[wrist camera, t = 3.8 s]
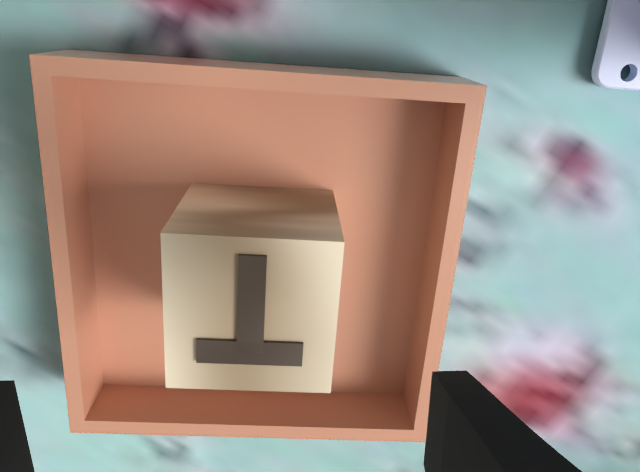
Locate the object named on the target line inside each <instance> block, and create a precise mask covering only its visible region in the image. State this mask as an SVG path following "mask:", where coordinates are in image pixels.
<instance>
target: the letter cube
mask: <svg viewBox="0 0 640 472" xmlns="http://www.w3.org/2000/svg"><path fill="white" fill-rule="evenodd" d="M160 235H161V265H162V295H163V325H164V355H165V385H166V388H184V389H215V390H246V391H277V392H307V393H331V385H332V374H333V363H334V352H335V341H336V331H337V320H338V309H339V298H340V287H341V276H342V265H343V255H344V244H345V242H344V237H343V233H342V228H341V224H340V219H339V215H338V210H337V206H336V201H335V197H334V192H333V191H331V190H313V189H295V188H277V187H259V186H241V185H223V184H205V183H192V184H191V185H190V187H189V188H188V190H187V192H186V193H185V195H184V196H183V198H182V199H181V201H180V203H179V204H178V206H177V207H176V209H175V211H174V212H173V214H172V215H171V217H170V219H169V220H168V222H167V223H166V225H165V226H164V228H163V230H162V231H161V233H160Z"/></svg>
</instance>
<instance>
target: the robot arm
mask: <svg viewBox="0 0 640 472" xmlns="http://www.w3.org/2000/svg"><path fill="white" fill-rule="evenodd" d="M627 64H628V65H629V67H630V74H629V76H628V77H627V78H626V79H624V80H622V79H621V77H620V72H621V70H622V68H623V67H624V66H626V65H627ZM591 77H592V79H593V82H594V83H595V84H596V85H597V86H600V87H604V88H610V89H624V90H638V91H640V0H608V2H607V6H606V10H605V15H604V19H603V23H602V28H601V32H600V36H599V40H598V45H597V49H596V53H595V58H594V62H593V66H592V73H591ZM424 467H425V472H582V471H581V470H579V469H578V468H577V467H575V466H574V465H573V464H572V463H570V462H569V461H568V460H567V459H566V458H564V457H563V456H562V455H561V454H560V453H558V452H557V451H556V450H555V449H554V448H552V447H551V446H550V445H549V444H548V443H546V442H545V441H544V440H543V439H542V438H541V437H539V436H538V435H537V434H536V433H535V432H534V431H533V430H531V429H530V428H529V427H528V426H527V425H526V424H525V423H524V422H522V421H521V420H520V419H519V418H518V417H517V416H516V415H515V414H513V413H512V412H511V411H510V410H509V409H508V408H507V407H506V406H505V405H504V404H503V403H501V402H500V401H499V400H498V399H497V398H496V397H495V396H494V395H493V394H492V393H491V392H489V391H488V390H487V389H486V388H485V387H484V386H483V385H482V384H481V383H480V382H479V381H477V380H476V379H475V378H474V377H473V376H472V375H471V374H470V373H468V372H467V371H434V372H432V379H431V390H430V401H429V412H428V423H427V434H426V445H425V456H424ZM0 472H34V467H33V463H32V459H31V454H30V450H29V445H28V441H27V436H26V432H25V427H24V423H23V419H22V414H21V410H20V405H19V401H18V396H17V392H16V387H15V383H14V381H0Z"/></svg>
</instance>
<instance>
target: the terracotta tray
mask: <svg viewBox="0 0 640 472" xmlns="http://www.w3.org/2000/svg"><path fill="white" fill-rule="evenodd" d="M29 58H30V68H31V77H32V86H33V95H34V104H35V113H36V123H37V132H38V141H39V150H40V159H41V168H42V177H43V187H44V196H45V205H46V214H47V223H48V232H49V242H50V251H51V260H52V269H53V278H54V287H55V297H56V306H57V315H58V324H59V333H60V342H61V351H62V361H63V370H64V379H65V388H66V397H67V406H68V416H69V425H70V433H106V434H143V435H180V436H217V437H253V438H290V439H327V440H364V441H401V442H426V434H427V423H428V412H429V401H430V390H431V379H432V372H434V371H438V369H439V363H440V358H441V352H442V346H443V340H444V334H445V328H446V322H447V317H448V311H449V305H450V299H451V293H452V287H453V281H454V276H455V270H456V264H457V258H458V252H459V246H460V241H461V235H462V229H463V223H464V217H465V211H466V205H467V200H468V194H469V188H470V182H471V176H472V170H473V165H474V159H475V153H476V147H477V141H478V135H479V129H480V124H481V118H482V112H483V106H484V100H485V94H486V88H487V86H486V85H483V84H480V83H477V82H474V81H471V80H468V79H466V78H463V77H457V76H443V75H428V74H414V73H400V72H385V71H371V70H357V69H342V68H328V67H314V66H299V65H285V64H271V63H256V62H242V61H228V60H213V59H199V58H185V57H170V56H156V55H142V54H127V53H113V52H99V51H84V50H70V49H66V50H58V51H51V52H43V53H35V54H29ZM192 183H205V184H223V185H241V186H259V187H277V188H295V189H313V190H331V191H333V192H334V197H335V201H336V206H337V210H338V215H339V219H340V224H341V228H342V233H343V237H344V242H345V244H344V255H343V265H342V276H341V287H340V298H339V309H338V320H337V331H336V341H335V352H334V363H333V374H332V385H331V393H307V392H277V391H246V390H215V389H184V388H166V385H165V355H164V325H163V295H162V265H161V235H160V233H161V231H162V230H163V228H164V226H165V225H166V223H167V222H168V220H169V219H170V217H171V215H172V214H173V212H174V211H175V209H176V207H177V206H178V204H179V203H180V201H181V199H182V198H183V196H184V195H185V193H186V192H187V190H188V188H189V187H190V185H191V184H192Z"/></svg>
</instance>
